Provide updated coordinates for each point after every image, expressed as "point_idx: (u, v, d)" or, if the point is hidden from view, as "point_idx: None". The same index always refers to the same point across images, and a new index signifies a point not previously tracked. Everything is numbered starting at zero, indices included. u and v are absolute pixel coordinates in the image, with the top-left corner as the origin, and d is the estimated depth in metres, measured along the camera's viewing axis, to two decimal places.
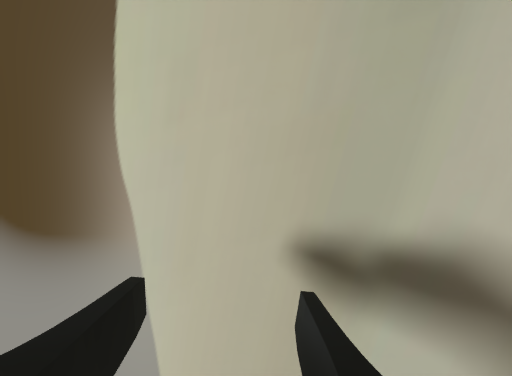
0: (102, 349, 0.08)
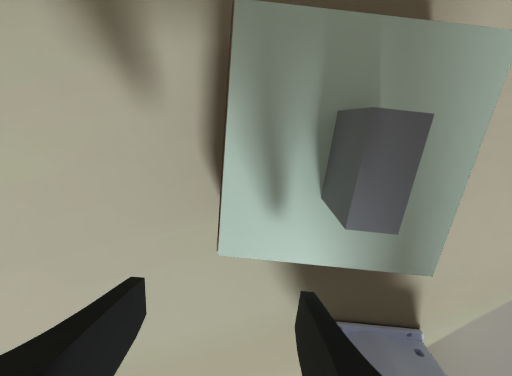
0: (102, 349, 0.08)
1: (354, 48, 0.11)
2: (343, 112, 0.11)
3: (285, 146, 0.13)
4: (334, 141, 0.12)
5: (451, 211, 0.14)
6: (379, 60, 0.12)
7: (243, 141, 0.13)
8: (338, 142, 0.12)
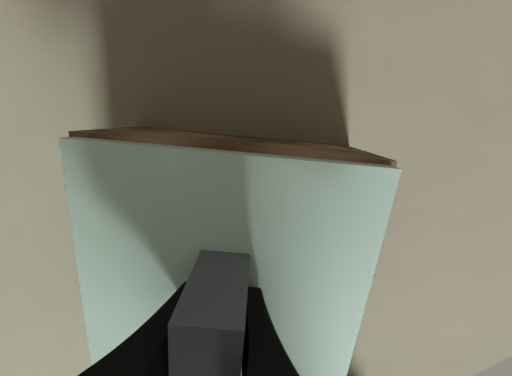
0: None
1: (208, 188, 0.10)
2: (195, 265, 0.10)
3: (148, 284, 0.11)
4: None
5: (349, 345, 0.12)
6: (239, 199, 0.10)
7: (99, 279, 0.11)
8: None
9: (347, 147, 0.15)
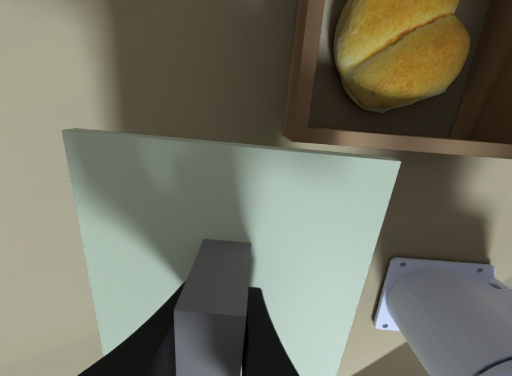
0: (173, 355, 0.08)
1: (210, 179, 0.10)
2: (198, 254, 0.10)
3: (153, 271, 0.12)
4: None
5: (345, 328, 0.13)
6: (240, 191, 0.10)
7: (106, 267, 0.12)
8: None
9: None
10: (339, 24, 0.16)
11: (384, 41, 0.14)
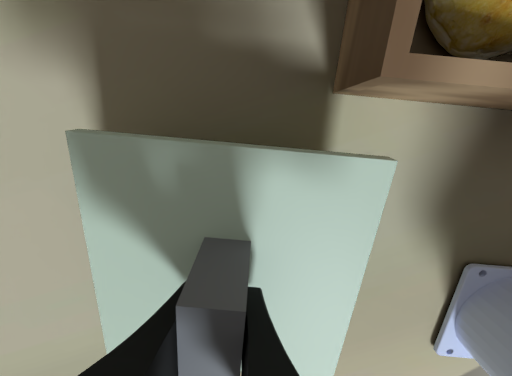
0: (173, 355, 0.08)
1: (210, 179, 0.10)
2: (199, 251, 0.10)
3: (155, 268, 0.12)
4: None
5: (343, 325, 0.13)
6: (240, 190, 0.10)
7: (109, 264, 0.12)
8: None
9: None
10: None
11: None
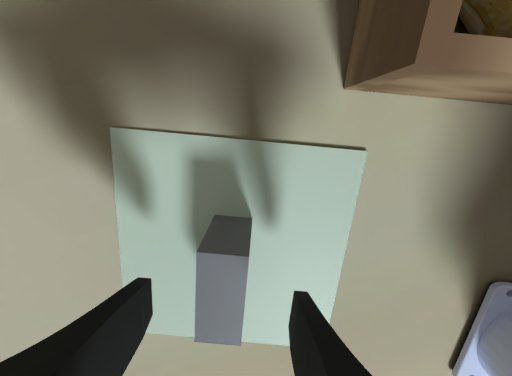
0: (111, 350, 0.08)
1: (220, 165, 0.13)
2: (211, 224, 0.13)
3: (172, 243, 0.14)
4: None
5: (331, 295, 0.15)
6: (244, 175, 0.13)
7: (134, 239, 0.14)
8: None
9: None
10: None
11: None
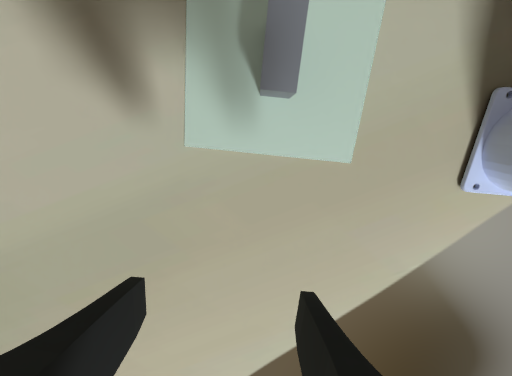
0: (102, 349, 0.08)
1: None
2: None
3: (230, 52, 0.17)
4: None
5: (359, 105, 0.18)
6: None
7: (199, 48, 0.17)
8: None
9: None
10: None
11: None
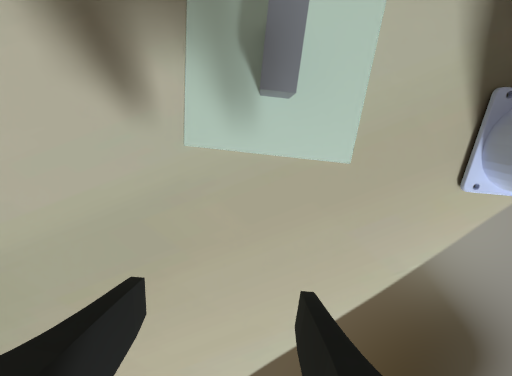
0: (102, 349, 0.08)
1: None
2: None
3: (230, 52, 0.17)
4: None
5: (359, 106, 0.18)
6: None
7: (199, 48, 0.17)
8: None
9: None
10: None
11: None
